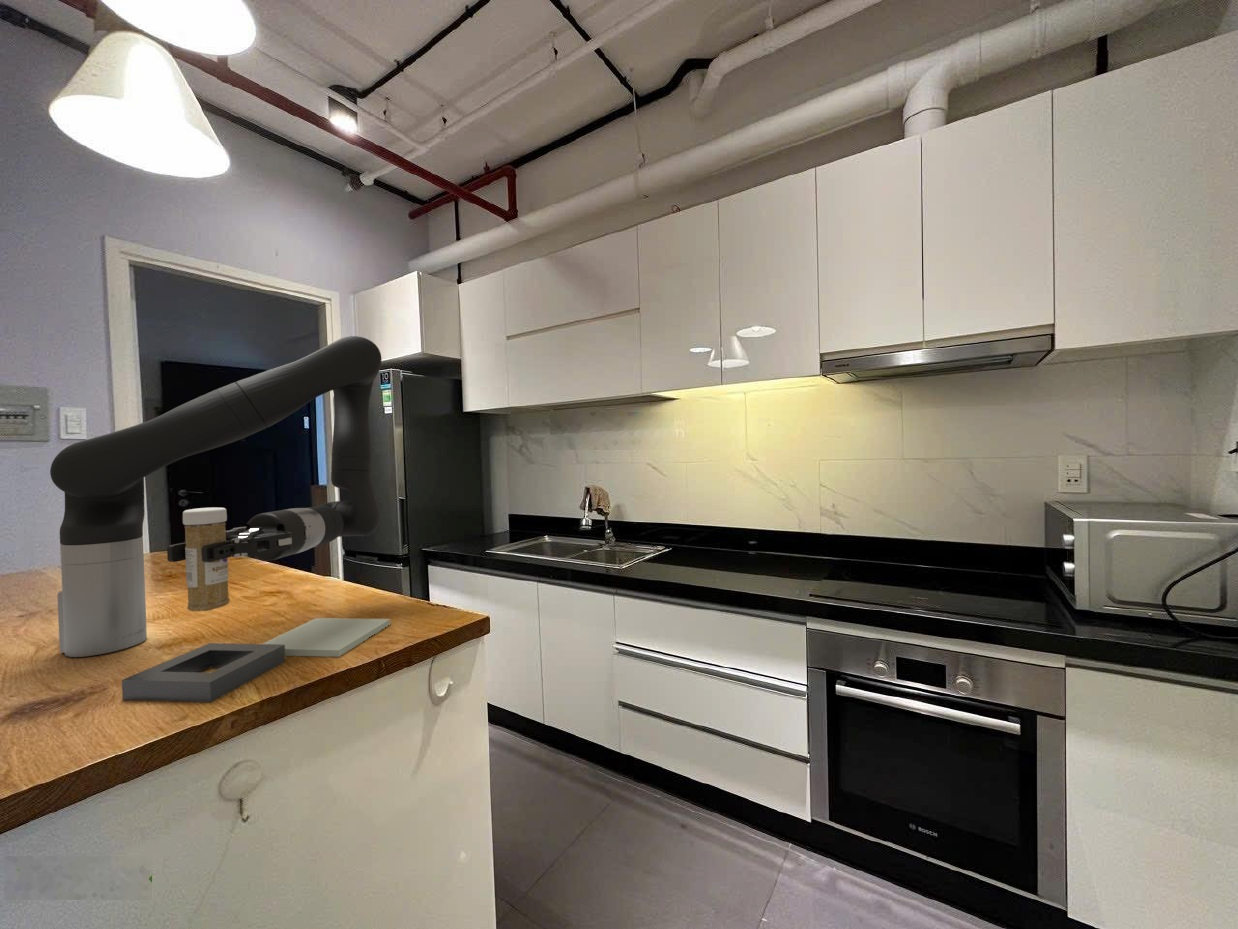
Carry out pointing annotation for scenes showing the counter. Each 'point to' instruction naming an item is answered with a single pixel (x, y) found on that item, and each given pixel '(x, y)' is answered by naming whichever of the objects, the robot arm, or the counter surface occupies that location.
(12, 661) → the counter surface
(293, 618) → the counter surface
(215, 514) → the sprinkles bottle
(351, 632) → the sage board
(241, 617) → the counter surface
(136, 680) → the metal socket
